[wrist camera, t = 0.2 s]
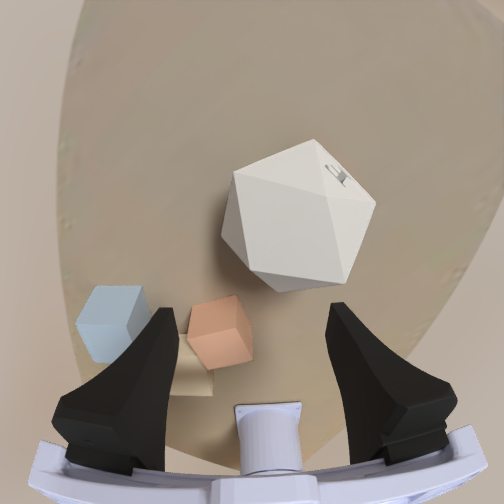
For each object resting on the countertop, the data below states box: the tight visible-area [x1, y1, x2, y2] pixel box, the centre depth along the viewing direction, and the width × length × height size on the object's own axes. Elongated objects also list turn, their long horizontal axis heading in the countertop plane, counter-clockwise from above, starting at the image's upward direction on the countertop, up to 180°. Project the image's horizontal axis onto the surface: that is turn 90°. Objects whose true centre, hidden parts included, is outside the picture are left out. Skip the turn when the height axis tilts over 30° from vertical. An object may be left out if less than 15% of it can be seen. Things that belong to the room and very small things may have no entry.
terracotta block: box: [187, 294, 253, 370], centre depth 25 cm, size 4×4×4 cm
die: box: [221, 139, 376, 293], centre depth 18 cm, size 8×9×10 cm
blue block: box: [75, 286, 151, 364], centre depth 24 cm, size 4×4×5 cm
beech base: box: [170, 334, 214, 396], centre depth 28 cm, size 6×6×3 cm
